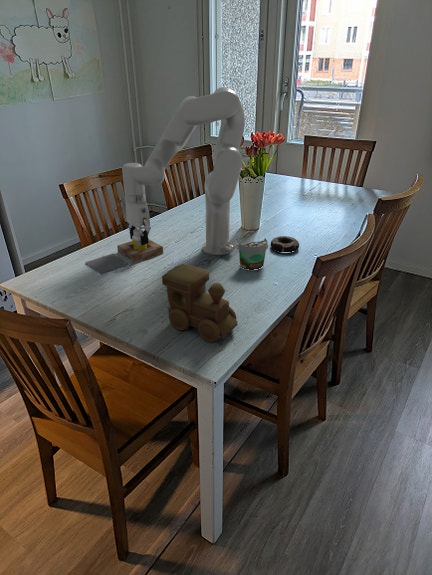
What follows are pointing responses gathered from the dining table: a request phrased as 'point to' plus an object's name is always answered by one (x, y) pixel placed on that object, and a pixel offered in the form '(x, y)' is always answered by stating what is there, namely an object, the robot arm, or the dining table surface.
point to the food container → (252, 254)
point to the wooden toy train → (198, 303)
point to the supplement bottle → (137, 240)
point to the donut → (284, 244)
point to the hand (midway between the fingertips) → (139, 240)
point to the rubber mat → (107, 263)
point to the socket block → (137, 256)
